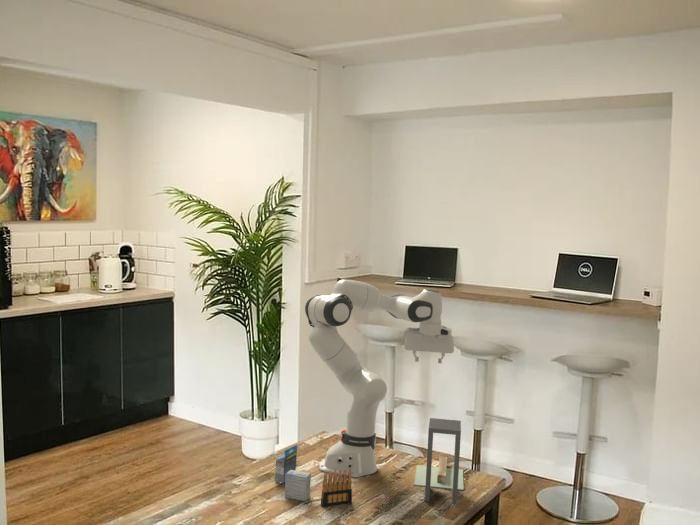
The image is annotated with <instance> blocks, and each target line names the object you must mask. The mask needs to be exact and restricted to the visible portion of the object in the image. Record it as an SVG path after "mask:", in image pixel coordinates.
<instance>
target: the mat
mask: <svg viewBox="0 0 700 525" xmlns="http://www.w3.org/2000/svg"><path fill="white" fill-rule="evenodd" d="M415 469H416V470H415V476H414V482H413V487H414V486H415V487H424V488H425V487H426V469H427V465H421V464H416V468H415ZM453 471H454V467H453V468H451V467H446V481H445V484H444V483H437V476H438V466H432V465H431V484H430V488H434V489H435V488H436V489H443V488H444V489H445V490H452V489H453ZM464 488H465V487H464V469H463V468H462V469H460V468H459V474H458V491H463V490H464Z"/></svg>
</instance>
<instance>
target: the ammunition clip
mask: <svg viewBox="0 0 700 525" xmlns="http://www.w3.org/2000/svg"><path fill="white" fill-rule="evenodd" d="M352 482H353V481H352V477H351V470H350V469H349V471H348V476H347V474H346V469H345V470H344V473H343V475H342V473H341V470H340V471H339V474H337V472H336V470H335V472H334V473H332V472H331V471H330V473H328V472H326V471H325V472H324V474H323V482H322V490H321V498H320V506H321V507H322V508H329V507H336V506H343V505H351V504H352V503H353V498H352V497H353V494H352V493H353V489H352V486H353V485H352Z"/></svg>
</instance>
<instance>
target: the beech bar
mask: <svg viewBox="0 0 700 525" xmlns="http://www.w3.org/2000/svg"><path fill="white" fill-rule="evenodd" d="M438 459H439V460H438V465H437V467H438V476H437V483H444V484H445V481H446V468H448V467H447V463H448V457H447V456H441V455H440V456H439V458H438Z"/></svg>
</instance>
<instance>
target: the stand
mask: <svg viewBox="0 0 700 525" xmlns="http://www.w3.org/2000/svg"><path fill="white" fill-rule="evenodd" d="M461 421H462V420H455V419H447V418H446V419H443V418H433V417H430V418H429V423H428V432H427V433H428V434H427V452H426V453H427V454H426V466H427V469H426V487H424V488H425V491H424V502H429V503H430V497H431V496H430V495H431V487H430V484H431V466H432V463H433V448H434V447H433V446H434V445H433V443H434V434H444V435H453V436H454V437H455V439H454V440H455V442H454V456H453V469H454V471H453V489H451V490H452V493H451V494H452V500H451V503H452V505H455V504H458V491H459V490H458V474H459V469H460V454H461V452H460V450H461V436H462V424H461Z"/></svg>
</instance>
